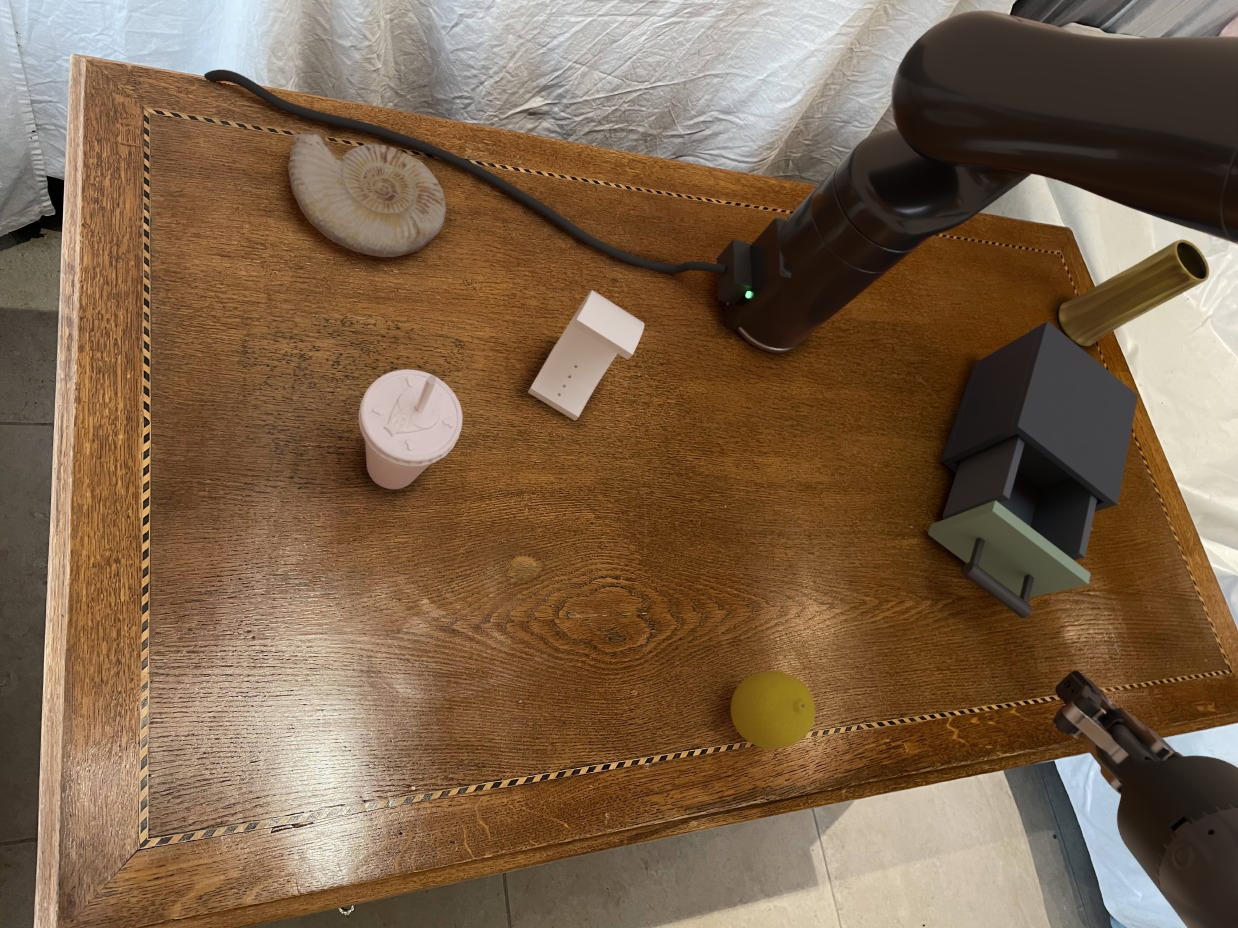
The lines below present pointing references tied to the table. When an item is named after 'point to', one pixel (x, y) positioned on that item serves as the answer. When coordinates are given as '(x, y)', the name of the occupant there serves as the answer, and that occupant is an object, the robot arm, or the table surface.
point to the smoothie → (407, 425)
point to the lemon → (772, 709)
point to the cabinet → (1049, 410)
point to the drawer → (1017, 523)
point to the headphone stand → (585, 354)
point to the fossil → (366, 196)
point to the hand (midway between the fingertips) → (1071, 683)
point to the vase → (1133, 292)
